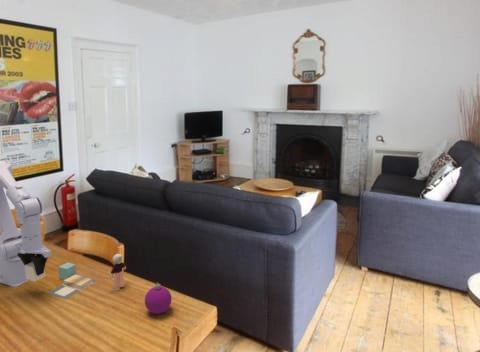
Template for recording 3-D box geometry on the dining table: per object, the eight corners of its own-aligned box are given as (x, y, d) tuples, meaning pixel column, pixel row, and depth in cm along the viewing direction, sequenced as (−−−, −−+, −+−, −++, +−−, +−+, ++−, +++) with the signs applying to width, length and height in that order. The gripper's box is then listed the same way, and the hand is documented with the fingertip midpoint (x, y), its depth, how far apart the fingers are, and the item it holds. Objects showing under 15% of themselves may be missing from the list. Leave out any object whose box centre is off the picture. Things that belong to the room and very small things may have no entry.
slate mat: (46, 293, 123) (46, 293, 123) (79, 275, 136) (79, 275, 136) (66, 300, 120) (65, 299, 120) (98, 281, 132) (98, 280, 132)
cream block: (26, 279, 121) (24, 265, 120) (37, 273, 125) (35, 260, 124) (34, 281, 120) (32, 267, 119) (45, 276, 123) (43, 262, 122)
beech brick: (63, 284, 129) (63, 280, 128) (75, 278, 133) (74, 274, 133) (80, 289, 126) (80, 285, 125) (91, 283, 130) (91, 279, 130)
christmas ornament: (139, 313, 114) (138, 283, 111) (159, 301, 120) (158, 273, 118) (158, 322, 109) (157, 292, 107) (177, 309, 116) (176, 281, 114)
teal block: (59, 279, 133) (58, 266, 132) (68, 274, 137) (67, 262, 135) (67, 281, 131) (66, 269, 130) (76, 277, 135) (75, 264, 134)
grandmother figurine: (119, 293, 124) (117, 259, 121) (108, 292, 125) (106, 258, 122) (130, 282, 132) (128, 250, 129) (120, 281, 132) (118, 249, 130)
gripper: (4, 234, 118) (9, 273, 121) (35, 242, 112) (39, 282, 115) (24, 227, 124) (29, 264, 127) (55, 235, 119) (58, 273, 122)
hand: (35, 272), depth 122 cm, fingers closed on cream block, 4 cm apart
